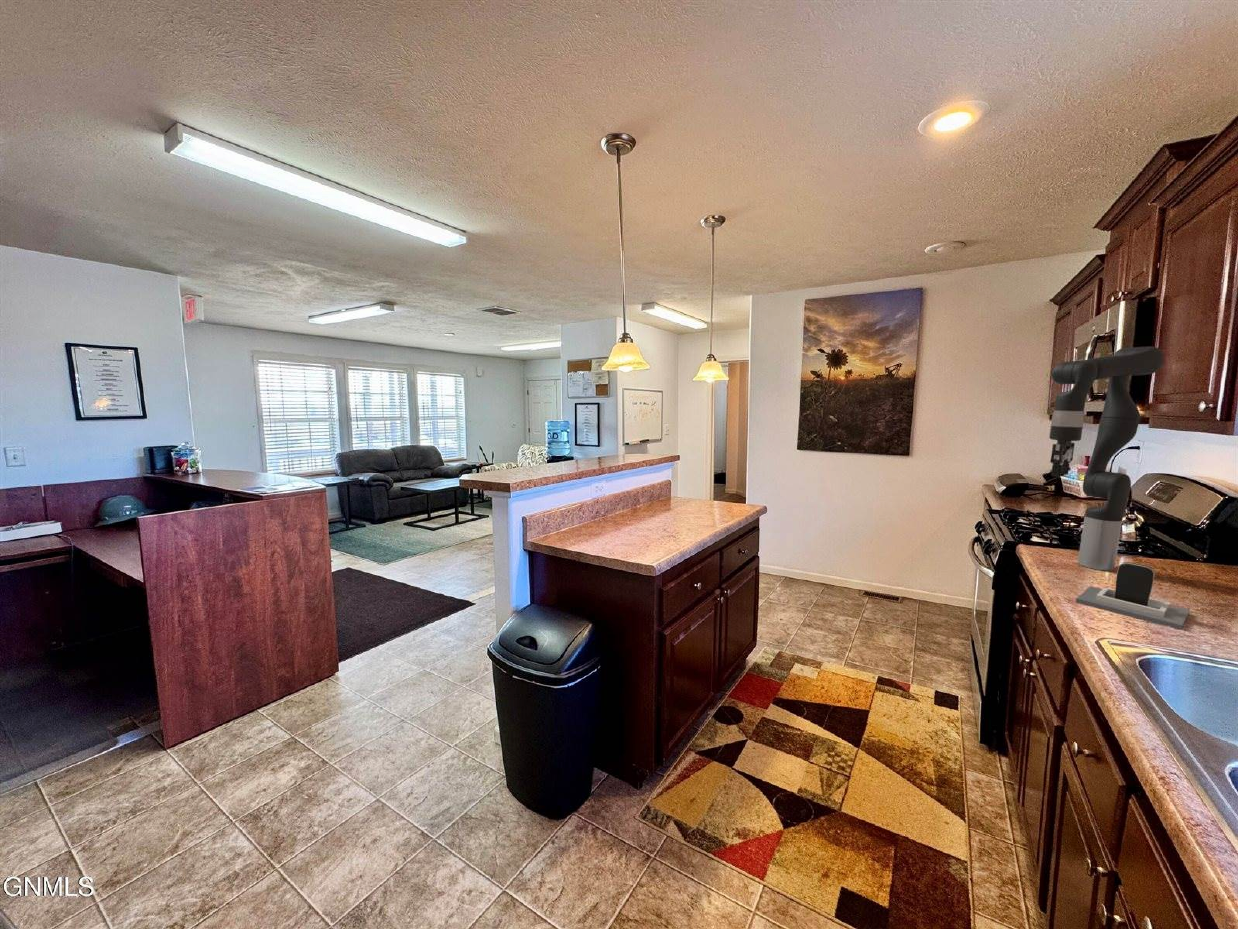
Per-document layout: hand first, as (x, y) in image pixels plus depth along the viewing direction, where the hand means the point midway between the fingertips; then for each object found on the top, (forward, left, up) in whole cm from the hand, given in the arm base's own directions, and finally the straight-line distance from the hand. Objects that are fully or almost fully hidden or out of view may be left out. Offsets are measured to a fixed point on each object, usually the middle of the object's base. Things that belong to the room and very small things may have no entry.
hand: (1059, 475), depth 158 cm
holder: (+15, +22, -33) cm, 42 cm away
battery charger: (+15, +22, -32) cm, 42 cm away
